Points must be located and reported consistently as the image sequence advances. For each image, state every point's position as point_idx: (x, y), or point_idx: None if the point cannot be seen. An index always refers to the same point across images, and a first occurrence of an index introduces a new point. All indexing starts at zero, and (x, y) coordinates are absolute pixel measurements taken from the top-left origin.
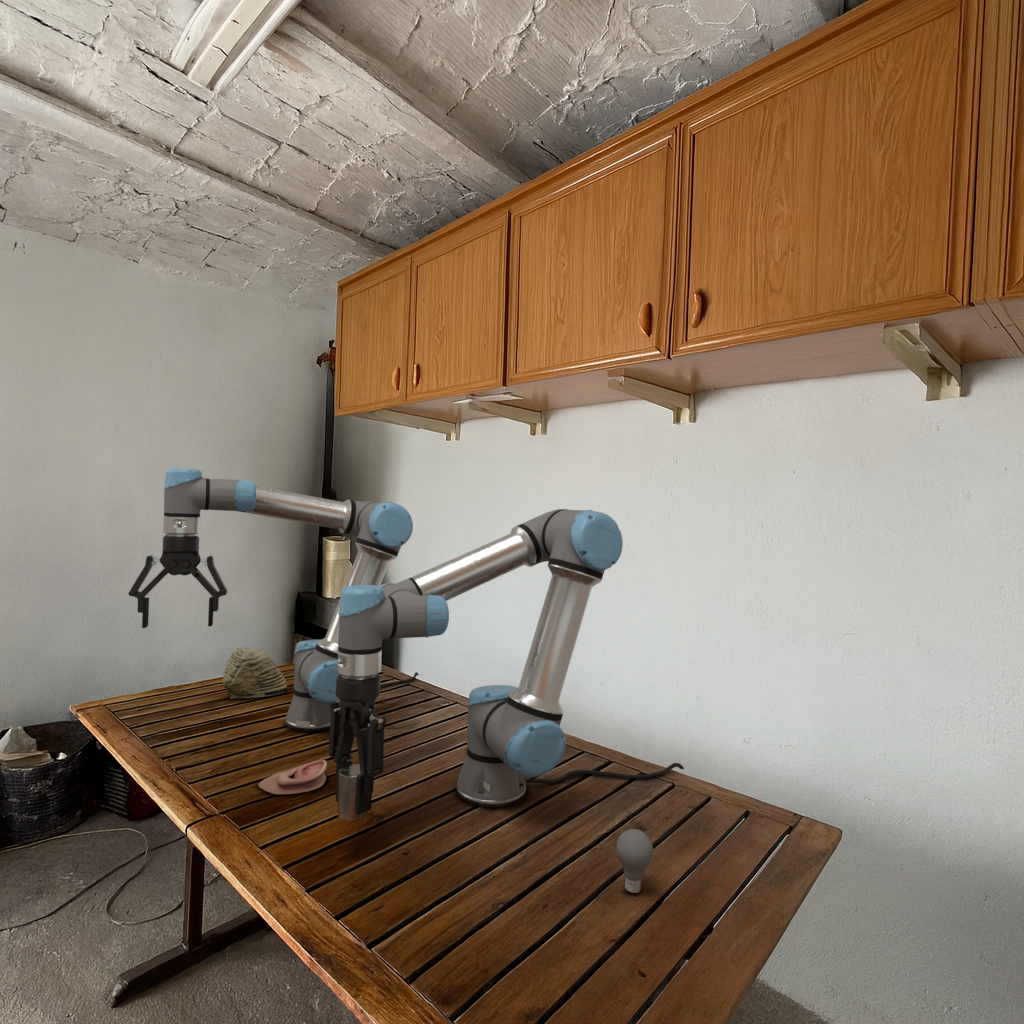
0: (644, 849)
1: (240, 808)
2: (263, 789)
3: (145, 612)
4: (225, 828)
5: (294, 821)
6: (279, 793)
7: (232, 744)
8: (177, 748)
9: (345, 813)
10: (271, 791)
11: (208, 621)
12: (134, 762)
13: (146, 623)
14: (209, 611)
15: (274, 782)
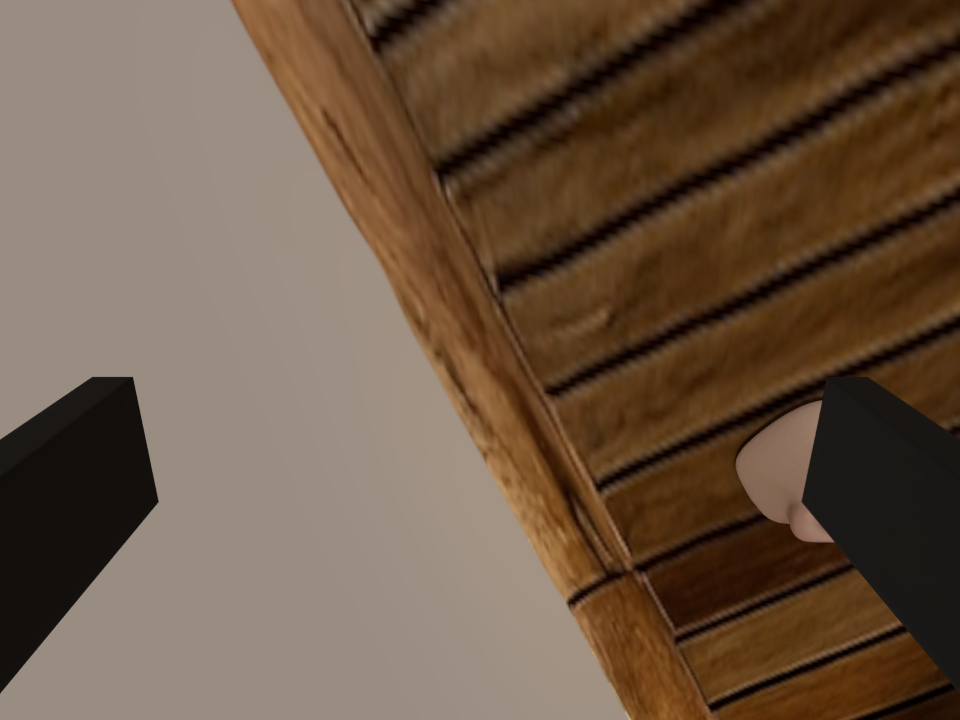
0: None
1: (681, 558)
2: (746, 490)
3: (38, 633)
4: (645, 631)
5: (791, 636)
6: (782, 522)
7: (677, 83)
8: (474, 77)
9: None
10: (764, 512)
11: (833, 539)
12: (351, 188)
13: (130, 498)
14: (922, 635)
15: (781, 496)
